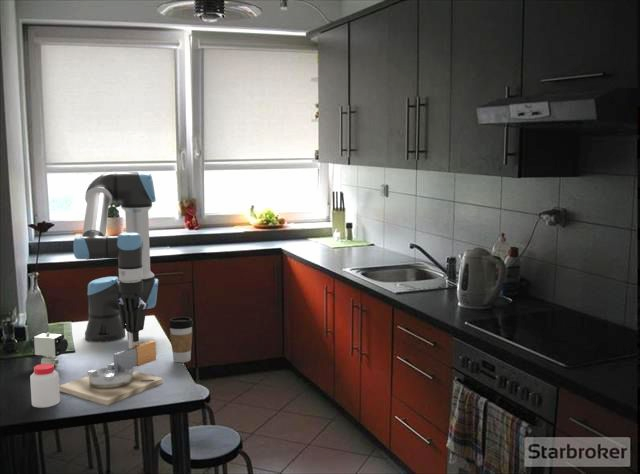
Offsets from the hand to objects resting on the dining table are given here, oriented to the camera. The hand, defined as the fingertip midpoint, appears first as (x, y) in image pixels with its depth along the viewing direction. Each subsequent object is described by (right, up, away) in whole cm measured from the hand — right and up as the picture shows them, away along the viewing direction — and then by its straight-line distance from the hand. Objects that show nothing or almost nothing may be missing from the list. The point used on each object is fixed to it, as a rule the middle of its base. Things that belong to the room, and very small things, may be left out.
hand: (133, 350), depth 219 cm
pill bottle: (-19, -11, -25) cm, 33 cm away
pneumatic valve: (-30, -7, +7) cm, 32 cm away
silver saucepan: (0, -7, -7) cm, 10 cm away
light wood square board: (-4, -9, -12) cm, 15 cm away
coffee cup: (+13, -6, +14) cm, 20 cm away
